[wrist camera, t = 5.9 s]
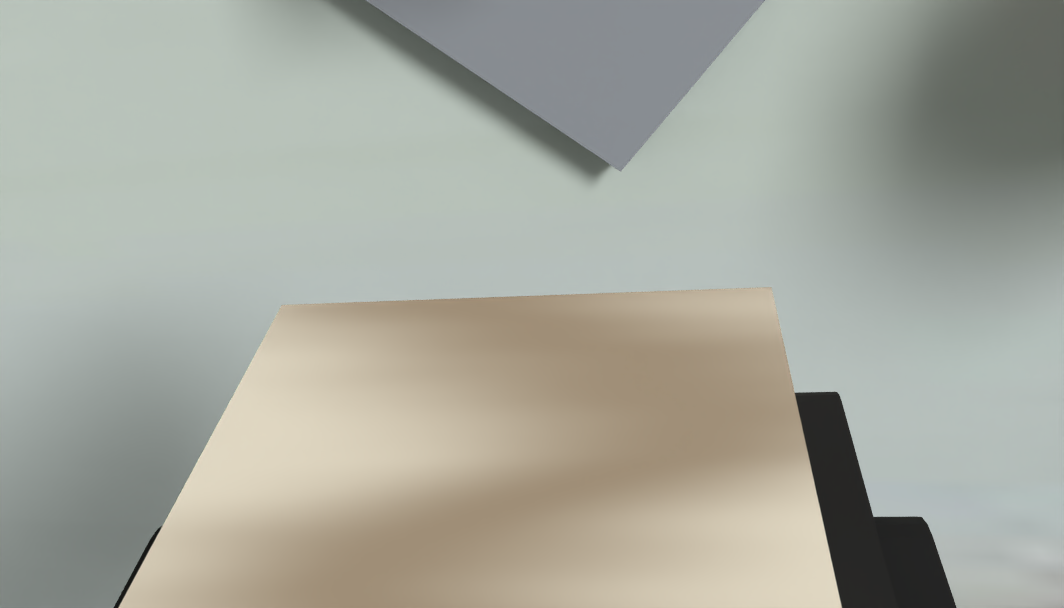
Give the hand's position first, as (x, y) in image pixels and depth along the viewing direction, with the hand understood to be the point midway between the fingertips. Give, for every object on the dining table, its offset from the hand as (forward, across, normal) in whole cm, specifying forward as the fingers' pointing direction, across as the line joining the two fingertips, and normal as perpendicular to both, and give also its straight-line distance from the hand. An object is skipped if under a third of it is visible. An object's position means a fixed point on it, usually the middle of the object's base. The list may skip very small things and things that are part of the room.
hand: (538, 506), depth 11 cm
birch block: (0, 0, 0) cm, 0 cm away
